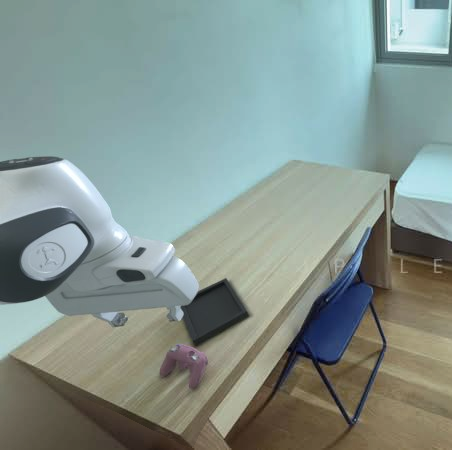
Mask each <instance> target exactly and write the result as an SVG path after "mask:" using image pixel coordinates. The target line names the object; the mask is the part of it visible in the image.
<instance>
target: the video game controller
mask: <svg viewBox="0 0 452 450" xmlns="http://www.w3.org/2000/svg"><path fill="white" fill-rule="evenodd" d="M208 363H209V359H208V356H207V354H205V353H204V352H203V351H199V350H198V349H196V348H195V347H193V346H191V345H188V344H182V343H178V344H176V345H174V346H172V347H170V349H169V350H168V351H167V352H166V354H165V357H164V359H163V362H162V364H161V366H160V368H159V375H160V377H166V376H167V375H169V374H170V373H171V372H172V370H173V369H174V367H175V365H176V364H177V367H178V368H179V369H180V370H185V369H187V368H188V371H189V373H191V374H190V377H189V380H188V388H189V389H191V390H192V389H195V388H196V387H198V385H199V384H200V382H201V381H202V379H203V377H204V374H205V371H206V367H207V365H208Z"/></svg>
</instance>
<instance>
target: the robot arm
mask: <svg viewBox="0 0 452 450" xmlns="http://www.w3.org/2000/svg"><path fill="white" fill-rule="evenodd" d="M175 253H176V248H175V247H174V245H173V244H172V243H171V242H167V241H161V240H160V241H159V240H155V239H148V238H143V237H141V236H136V235H131V234H129V233H128V232H127V230H126V229H125V228H124V227H123V226H121V225H120V224H119V223H118V222H116V220H115V219H114V217H113V213H112V209H111V207H110V206H109V204H108V203H107V201H106V199H105V198H104V197H103V195H102V194H101V193H100V192H99V190H98V189H97V187H96V186H95V185H94V184H93V182H92V181H91V180H90V179H89V178H88V177H87V176H86V174H85V173H84V172H83V171H82V170H81V169H80V168H78V167H77V165H75V164H73V162H71V161H70V160H67V159H65V158H63V157H59V156H53V155H52V156H50V155H49V156H29V157H24V158H23V157H22V158H13V159H8V160H2V161H0V306H4V305H6V306H7V305H16V304H22V303H29V302H32V301H36V300H38V299H41V298H44V297H45V298H46V299H47V301H48V303H50V305H51V306H52V307H53V308H54V309H55V310H56V311H57V312H58V313H59V314H61V315H64V316H67V317H73V316H85V315H91V316H92V317H93V318H96V319H98V320H101V321H103V322H106V323H108V325H110V326H111V327H112V328H119V327H124V326H125V325H126V323H128V320H129V317H128V316H126V313H125V312H130V311H138V310H149V309H150V310H151V309H162V308H165V309H167V310H169V311H168V313H167V314H166V315H165V316H166V319H167V320H168V321H169V322H170V323H172V322H173V323H174V322H180V321H181V320H182V319H183V315H184V313H183V311H182V310H181V308H180V307H181V306H185V305H189V304H190V303H191V302H192V300H193V299H194V297H195V296H196V294H197V292H198V291H200V290H199V289H200V284H199V282H198V280H197V278H196V277H195V274H194V273H193V272H192V270H191V269H190V268H189V266H188V265H187V264H186V263H185V262H184V261H183V260H182V259H181V258H179V257H177V256H175Z"/></svg>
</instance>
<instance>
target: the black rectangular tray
mask: <svg viewBox="0 0 452 450" xmlns="http://www.w3.org/2000/svg"><path fill="white" fill-rule="evenodd" d="M180 308H181V310H182V311H183V313H184V315H183V317H182V319H183V321H184V323H185V327H186V329H187V332H188V334H189V336H190V339H191V342H192V343H193V344H194V346H195V347H197V346H199V345H201V344H203V343H205V342H207V341H208V340H210V339H211V338H214V337H215V336H217V335H219V334H220V333H223V332H224V331H227V330H228V329H229V328H231V327H233V326H234V325H236V324H239V323H240V322H242V321H244V320H245V319H247V318H249V317H250V314H249V312H248V310H247V309H246V307H245V305H244V304H243V302H242V301H241V299H240V297H239V296H238V294H237V293H236V291H235V290H234V288H233V286H232V284H231V283H230V282H229V280H228V278H227V277H225V278H223V279H220V280H218V281H216V282H214V283H212V284H210V285H208V286H206V287H204V288H202V289H200V290H198V292H197V294H196V296H195V297H194V299H193V300H192V302H191V303H190V304H189V305H185V306H181V307H180Z"/></svg>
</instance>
